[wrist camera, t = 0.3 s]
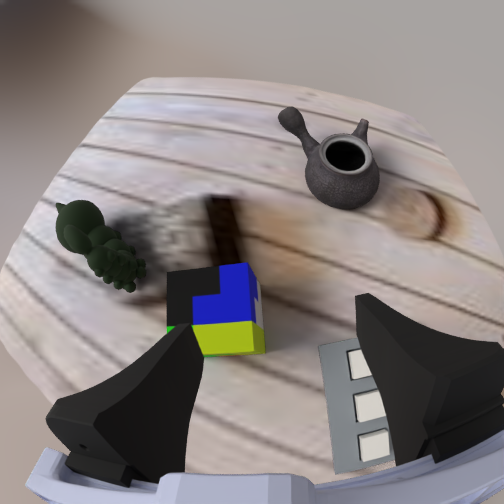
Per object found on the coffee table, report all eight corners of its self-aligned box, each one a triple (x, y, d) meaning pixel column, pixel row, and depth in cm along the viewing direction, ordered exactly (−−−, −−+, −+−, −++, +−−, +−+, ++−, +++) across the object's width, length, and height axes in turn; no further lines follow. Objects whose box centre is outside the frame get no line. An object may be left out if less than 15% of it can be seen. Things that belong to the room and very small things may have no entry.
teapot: (391, 161, 46) (404, 122, 37) (359, 226, 43) (371, 191, 34) (302, 122, 53) (299, 83, 43) (259, 177, 49) (249, 138, 40)
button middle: (383, 413, 31) (386, 415, 29) (357, 420, 31) (359, 422, 30) (380, 388, 32) (383, 390, 31) (354, 395, 33) (356, 396, 31)
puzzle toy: (260, 284, 42) (247, 262, 33) (265, 353, 39) (253, 351, 29) (195, 291, 44) (167, 272, 34) (197, 357, 40) (167, 354, 31)
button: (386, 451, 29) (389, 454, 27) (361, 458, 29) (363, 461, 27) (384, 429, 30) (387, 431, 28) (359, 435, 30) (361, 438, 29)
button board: (425, 443, 29) (430, 447, 27) (334, 469, 30) (335, 475, 28) (410, 324, 36) (416, 322, 34) (318, 346, 38) (319, 345, 36)
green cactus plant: (172, 269, 47) (92, 202, 54) (116, 224, 30) (38, 153, 36) (140, 313, 46) (66, 238, 52) (69, 291, 28) (6, 198, 34)
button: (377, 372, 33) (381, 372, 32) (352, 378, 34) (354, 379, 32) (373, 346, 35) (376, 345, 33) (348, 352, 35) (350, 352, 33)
